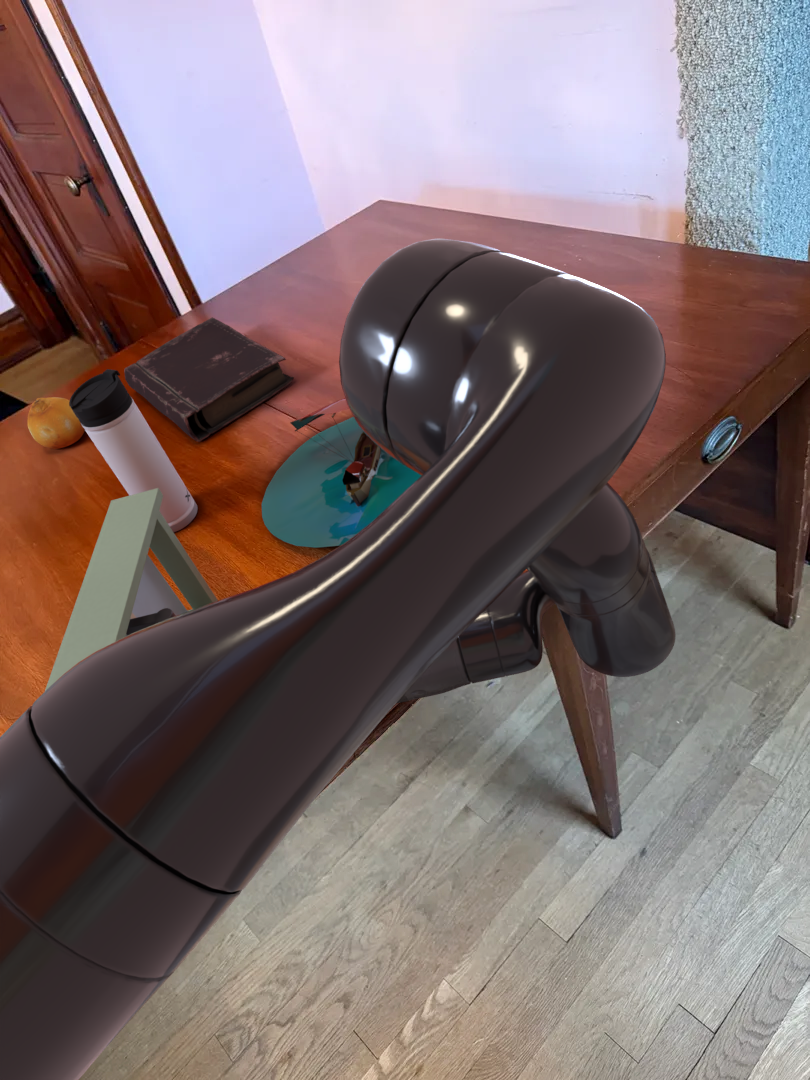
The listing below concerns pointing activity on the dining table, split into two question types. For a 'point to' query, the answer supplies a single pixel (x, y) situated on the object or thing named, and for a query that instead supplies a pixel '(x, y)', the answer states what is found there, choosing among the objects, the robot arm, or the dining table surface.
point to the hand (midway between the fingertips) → (197, 697)
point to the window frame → (128, 579)
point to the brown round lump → (54, 423)
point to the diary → (207, 377)
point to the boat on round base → (332, 484)
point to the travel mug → (131, 445)
